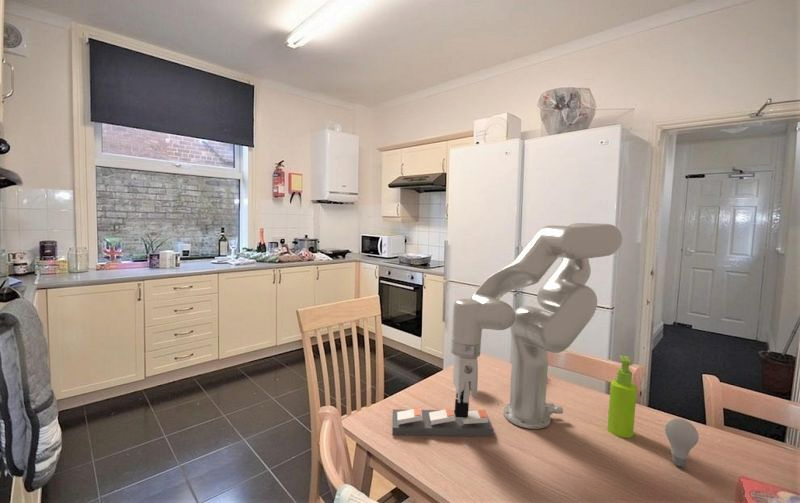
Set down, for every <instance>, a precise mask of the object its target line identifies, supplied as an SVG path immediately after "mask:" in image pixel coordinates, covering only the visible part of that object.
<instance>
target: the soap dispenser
mask: <svg viewBox="0 0 800 503" xmlns="http://www.w3.org/2000/svg"><path fill="white" fill-rule="evenodd" d="M619 358H620V360H621V364H620V365H621V368H618V369H616V370H617V371H616V379H611V381H610V387H609V388H610V390H609V403H608V416H607V431H608V432H610V433H611V434H612V435H614V436H615V437H618V438H623V439H624V438H625V439H629V438H633V436H634V427H635V426H634V425H635V415H636V402H637V391H638V387H637V385H636V384H635V383H633V382H632V380H633V372H632V371H630V365H631V359H630V357H629V356H628V355H623V354H619Z"/></svg>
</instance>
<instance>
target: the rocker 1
mask: <svg viewBox="0 0 800 503" xmlns="http://www.w3.org/2000/svg"><path fill="white" fill-rule="evenodd" d="M405 410H406V411H400V412H397V421H398V425H399V424H404V423H410V422H415V421H420V420H423V418H422V411H421V410H422V408H421V407H417V408H412V409H405Z"/></svg>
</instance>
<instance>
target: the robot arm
mask: <svg viewBox="0 0 800 503" xmlns="http://www.w3.org/2000/svg"><path fill="white" fill-rule="evenodd" d="M622 243H623V234H622V232H621V230H620V229H619V227H616V226H615V225H613V224H610V223H591V222H590V223H584V222H583V223H581V222H578V223H577V222H575V223H572V224H569V225H545V226H543V227H541V228H540V229H539V230H538V231H537V232H536V233H535V234H534V236H533V237H532V238H531V239H530V241H529V242H528V243H527V244H526V245H525V247H524V248H523V249H522V251H521V252H520V253H519V254H518V255H517V257H516V258H515V259H514V260H513V261H512V262H511V263H509V264H507V265H506V266H504V267H503V268H501V269H500V270H498V271H496V272H494V273H493V274H492V275H490V276H488V278H486V279H485V280H484V281H483V282H482V283H481V284H480V285H479V287H478V288H477V289H476V290H475V292H474V293H473V294H472V296H471V297H470V298H461V299H457V300H455V302H454V303H453V309H452V310H453V313H452V314H453V315H452V324H451V325H452V327H451V343H450V344H451V345H450V353H451V354H452V355H453V364H452V365H453V366H452V367H453V368H452V381H453V385H454V388H455V399H454V401H455V402H454V410H455V416H456V417H463V418H467V417H468V410H469V406H470V394H472V397H477V395H478V380H479V374H478V372H479V371H478V370H479V369H478V368H479V366H478V365H479V364H478V362H479V361H478V358H479V357H480V356H481V349H482V335H483V333H482V332H483V330H490V331H491V330H493V331H504V330H508V329H510V337H511V348H512V349H511V350H512V351H511V353H512V354H511V369H510V370H511V371H510V372H511V373H510V387H509V388H510V390H509V392H510V393H509V403H508V404H506V405H505V406H504V408H503V416H504V417H505V419H506V420H508V421H509V422H510V423H512V424H513V425H515V426H518V427H519V428H520V427H521V428H524V429H530V430H539V429H544V428H547V427H548V426H550V425H551V420H552V418H551V415H553V414H556V415H557V414H558V415H563V413H564V410H563V406H559V405H558V406H555V403H554V402H547V400H546V399H547V384H548V367H549V355H548V352H549V353H553V354H559V353H562V352H564V351H565V350H567V349H568V348H569V347H570V346H571V345H572V344H573V342H574V341H575V340H576V339H577V337H578V336H580V334H581V332H582V331H583V330H584V329H585V328H586V326H588V324H589V322H590V321H591V320H592V319H593V317H594V315H595V313H596V310H597V307H598V296H597V294H596V292H595V291H594V289H592V288H591V287H590V286H588V285H586V284H587V282H588V280H589V279H590V276H591V273H592V271H591V270H592V269H591V265H590V260H589V259H593V258H596V259H597V258H602V257H610V256H612V255H613V254H615V253H616V252H617V251H618V250H619V249H620V248H621V247H622ZM559 258H561V261H560V263H559V265H558V266H557V267H556V269H555V270H554V271H553V272H552V273H551V275H550V276H549V277H548V279H547V280H546V281H545V282H544V284H543V285H542V286H541V287H540V289H539V290H538V292H537V295H536V299H537V300H536V301H537V303H538V305H540V306H541V307H542V308H543V309H542V308H538V307H536V306H530V305H524V306H520V307H518V308H516V309H515V310H514V308H513V306H511V305H510V304H509V303H507V302H505V301H504V300H503V301H502V300H500V299H501V298H502V297H503V296H504V295H506V294H508V293H509V292H512V291H514V290H516V289H522V288H527V287H529V286H533V285H537V284H538V283H540V281H541V280H542V279H543V277H544V276H545V275H546V274H547V273H548V271H549V270H550V268H551V267H552V266H553V265H554V263H555V262H556V261H557V260H559ZM546 310H547V311H546Z"/></svg>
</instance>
